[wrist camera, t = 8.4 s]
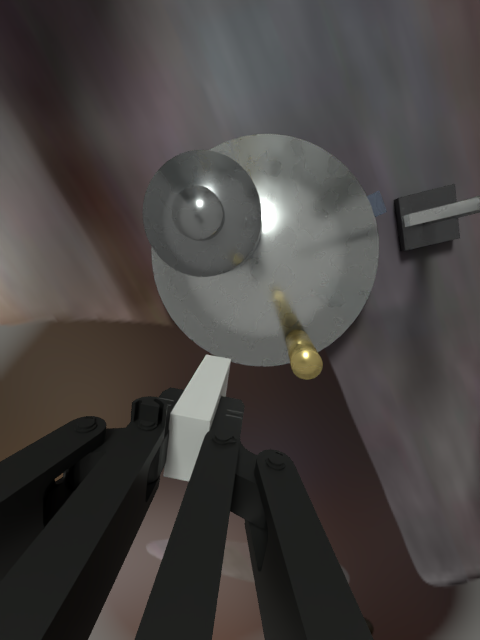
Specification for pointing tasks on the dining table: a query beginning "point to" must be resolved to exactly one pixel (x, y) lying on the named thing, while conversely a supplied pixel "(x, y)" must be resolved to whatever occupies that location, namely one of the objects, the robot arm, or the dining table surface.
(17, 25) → the dining table surface
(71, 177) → the dining table surface
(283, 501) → the robot arm
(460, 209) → the rod on square base
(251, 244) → the cover
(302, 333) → the turntable
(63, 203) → the dining table surface
